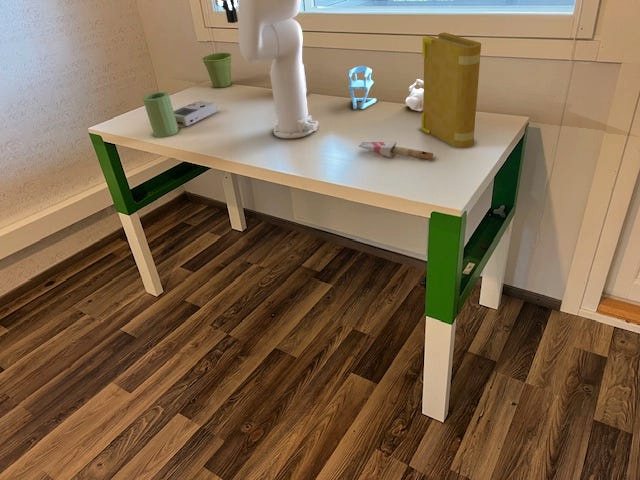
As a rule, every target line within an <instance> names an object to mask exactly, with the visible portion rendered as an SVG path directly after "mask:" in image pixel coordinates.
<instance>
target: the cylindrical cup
mask: <svg viewBox="0 0 640 480" xmlns="http://www.w3.org/2000/svg"><path fill="white" fill-rule="evenodd" d="M142 101H143V104H144V107H145V111H146V114H147V117H148V120H149V123H150V127H151V130H152V132H153V133H152V134H153V135H154V137H158V138H166V137H170V136H173V135H175V134H177V133H178V132H179V126H178V121H176V118H175V115H174V111H175V110H174V108H173V105H172V104H173V103H172V100H171V97H170V94H169V93H168V92H167V91H156V92H151V93H149V94H146V95H144V96H143V97H142Z"/></svg>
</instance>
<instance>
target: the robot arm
mask: <svg viewBox="0 0 640 480" xmlns="http://www.w3.org/2000/svg"><path fill="white" fill-rule="evenodd" d="M214 2H215V5H216V6H219V7H220V6H221V7H222V9H223V10H224V11H225V15H226V20H227V23H228V24H236V23H238V46H239V51H240V54H241V56H242V58H243V59H244V61H246V62H247V63H250V64H259V63H262V62H266V61H270V60H271V61H272V60H273V61H272V63H271V66H270V71H269V78H270V86H271V91H272V98H273V104H274V109H275V117H276V121H277V122H276V123H277V124H276V125H275V126H274V127H273V134H274V136H276V137H278V138H281V139H299V138H302V137H306V136H308V135H310V134H312V133H313V132H314V131H315V132H316V131H317V130H318V126H319V121H318V120H312V115H311V114H309V109H308V108H309V107H308V101H307V93H306V91H305V83H304V74H303V65H302V63H303V41H304V39H303V38H304V37H303V29H302V27H301V25H300V23H299V22H298V21H297V20H296V19H294V18H296V17H297V16H298V14H299V13H300V10H301V5H302V0H214ZM237 8H238V13H237Z"/></svg>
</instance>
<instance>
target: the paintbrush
mask: <svg viewBox="0 0 640 480" xmlns="http://www.w3.org/2000/svg"><path fill="white" fill-rule="evenodd" d="M358 147H359V148H362V149H364V150H368V151H370V152H373V153H377V154H379V155H382V156H385V157H388V158H393V157H394V155H400V156H406V157H412V158H417V159H425V160H428V161H429V160H430V161H431V160H433V157H434V152H429V151H425V150H418V149H413V148H408V147H407V148H406V147H401V146H397V141H362V142H361V143H360V144H359V145H358Z"/></svg>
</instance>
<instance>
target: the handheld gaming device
mask: <svg viewBox="0 0 640 480" xmlns="http://www.w3.org/2000/svg"><path fill="white" fill-rule="evenodd" d="M173 111H174V115H175V118H176V122H177V123H182V125H183V126H185V127H189V126H191V125H192V124H195V123H197V122H199V121H201V120H203V119H205V118H207V117H209V116H211V115H213V114H215V113H217V112H218V107H217V103H216V102H214V101H206V100H205V101H204V100H200V101H194V102H192V103H189V104H187V105H184V106H182V107H180V108H178V109H177V108H176V110H173Z"/></svg>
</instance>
